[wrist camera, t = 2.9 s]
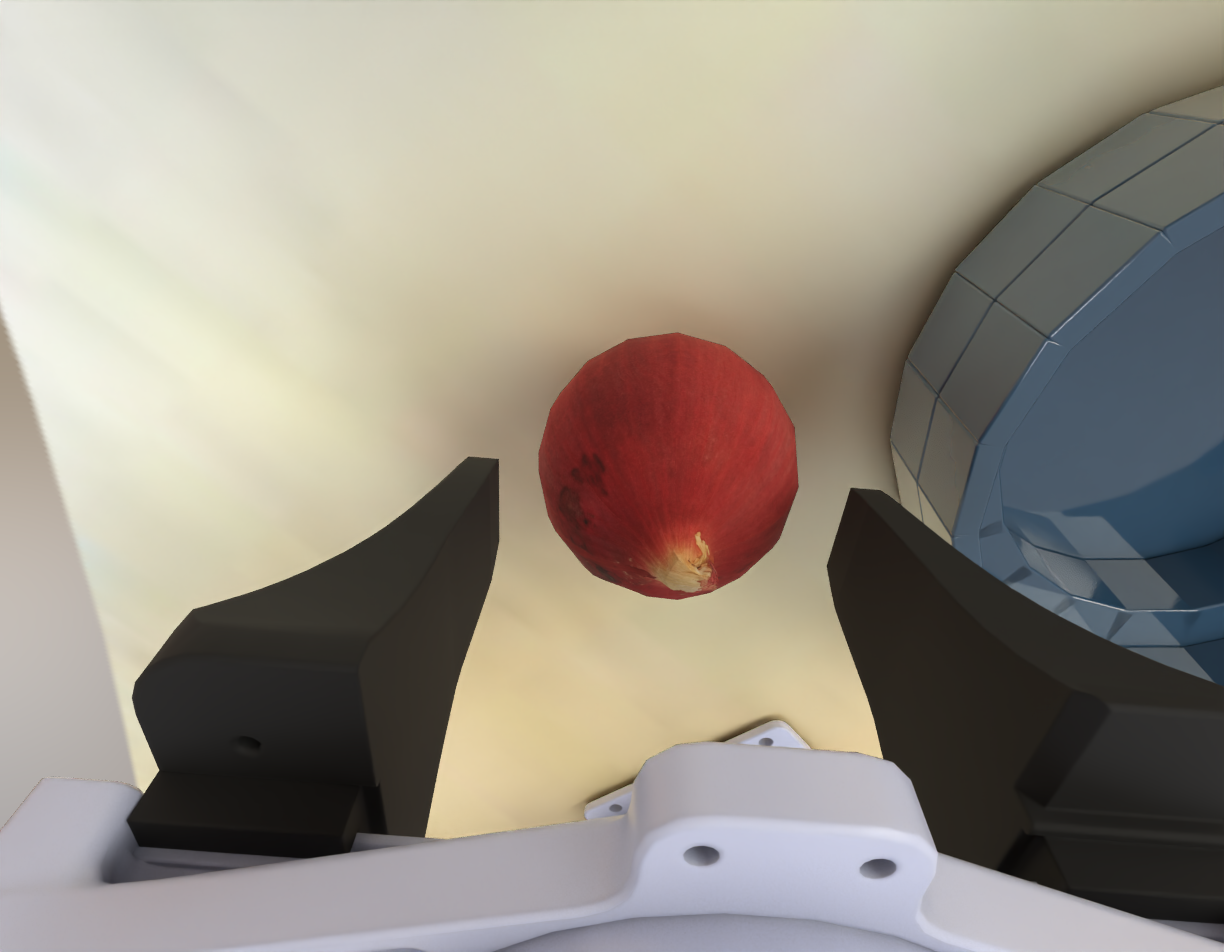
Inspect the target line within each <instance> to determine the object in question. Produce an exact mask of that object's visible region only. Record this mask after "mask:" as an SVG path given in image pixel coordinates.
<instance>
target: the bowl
mask: <svg viewBox="0 0 1224 952" xmlns="http://www.w3.org/2000/svg"><path fill="white" fill-rule="evenodd" d="M890 439H891V441H890V444H891V450H892V455H893V461H894V467H895V472H896V478H897V484H898V489H899V495H900V501H901V505H902V506H903V507H904V508H905V509H907V510H908V511H909V512H910V513H912V514H913V515H914V516H915V517H916V518H918V519H919V520H920V521H921V522H923V523H924V524H925V525H926V526H928V527H929V528H930V529H931V530H933V531H934V532H935V533H936V534H938V535H939V536H940V537H941V538H943V539H944V540H945V541H946V542H948V543H949V544H950V545H952V546H953V547H954V548H955V549H957V550H958V551H959V552H961V553H962V554H963V555H965V556H966V557H967V558H969V559H970V560H971V561H973V562H974V563H976V564H977V565H979V566H980V567H981V568H983V569H984V570H986V571H987V572H988V573H990V574H991V575H993V576H994V577H996V578H997V579H999V580H1000V581H1002V582H1003V583H1005V584H1006V585H1008V586H1009V587H1011V588H1012V589H1014V590H1016V591H1017V592H1019V593H1021V594H1022V595H1024V596H1026V597H1027V598H1029V599H1031V600H1032V601H1034V602H1036V603H1037V604H1039V605H1040V606H1042V607H1044V608H1046V609H1048V610H1049V611H1051V612H1053V613H1055V614H1057V615H1058V616H1060V617H1062V618H1064V619H1066V620H1068V621H1070V622H1072V623H1074V624H1076V625H1078V626H1080V627H1082V628H1084V629H1086V630H1088V631H1090V632H1092V633H1094V634H1096V635H1098V636H1100V637H1102V638H1104V639H1106V640H1108V641H1111V642H1113V643H1115V644H1117V645H1119V646H1121V647H1124V648H1126V649H1129V650H1131V651H1133V652H1136V653H1138V654H1140V655H1143V656H1145V657H1147V658H1150V659H1152V660H1154V661H1157V662H1159V663H1162V664H1164V665H1167V666H1169V667H1172V668H1175V669H1178V670H1180V671H1183V672H1186V673H1189V674H1192V675H1194V676H1197V677H1200V678H1203V679H1205V680H1208V681H1211V682H1214V683H1216V684H1219V685H1222V686H1224V85H1222V86H1220V87H1217V88H1214V89H1211V90H1208V91H1205V92H1202V93H1199V94H1197V95H1194V96H1191V97H1188V98H1185V99H1182V100H1179V101H1176V102H1173V103H1171V104H1168V105H1165V106H1162V107H1159V108H1156V109H1153V110H1151V111H1150V112H1148V113H1144V114H1142V115H1140V116H1139V117H1137V118H1136V119H1134V120H1133V121H1131V122H1130V123H1128V124H1127V125H1125V126H1123V127H1122V128H1120V129H1119V130H1117V131H1116V132H1114V133H1113V134H1111V135H1110V136H1108V137H1107V138H1105V139H1104V140H1102V141H1101V142H1099V143H1097V144H1096V145H1094V146H1093V147H1091V148H1090V149H1088V150H1087V151H1085V152H1084V153H1082V154H1081V155H1079V156H1078V157H1076V158H1075V159H1073V160H1072V161H1070V162H1068V163H1067V164H1065V165H1064V166H1062V167H1061V168H1059V169H1058V170H1056V171H1055V172H1053V173H1052V174H1050V175H1049V176H1047V177H1046V178H1044V179H1043V180H1041V181H1039V182H1038V183H1037V185H1034V186H1033V187H1032V188H1031V189H1030V190H1029V191H1028V192H1027V193H1026V194H1025V195H1024V197H1023V198H1022V199H1021V200H1020V201H1019V202H1018V203H1017V204H1016V205H1015V206H1014V207H1013V208H1012V209H1011V210H1010V211H1009V212H1008V213H1007V215H1006V216H1005V217H1004V218H1003V219H1002V220H1001V221H1000V222H999V223H998V224H997V225H996V226H995V227H994V228H993V229H992V230H991V231H990V233H989V234H988V235H987V236H986V237H985V238H984V239H983V240H982V241H981V242H980V243H979V244H978V245H977V246H976V247H975V248H974V250H973V251H972V252H971V253H970V254H969V255H968V256H967V257H966V258H965V259H964V260H963V261H962V262H961V263H960V264H959V265H958V266H957V268H956V269H955V272H954V273H953V274H952V276H951V278H950V280H949V281H948V283H947V285H946V287H945V289H944V291H943V292H942V294H941V296H940V298H939V300H938V302H937V303H936V305H935V307H934V309H933V311H932V312H931V314H930V316H929V318H928V320H927V322H926V323H925V325H924V327H923V329H922V331H921V332H920V334H919V336H918V338H917V340H916V342H915V343H914V345H913V347H912V349H911V351H910V353H909V354H908V359H907V360H906V361H905V365H904V370H903V375H902V380H901V385H900V390H899V395H898V400H897V405H896V410H895V415H894V420H893V425H892V430H891V435H890Z"/></svg>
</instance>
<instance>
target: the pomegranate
mask: <svg viewBox="0 0 1224 952" xmlns="http://www.w3.org/2000/svg"><path fill="white" fill-rule="evenodd" d="M539 475H540V480H541V484H542V489H543V494H544V499H545V503H546V508H547V513H548V517H549V519H550V521H551V523H552V525H553V527H554V529H555V531H556V532H557V533H558V535H559V536H560V537H561V538H562V540H563V541H564V542H565V543H566V545H567V546H568V547H569V548H570V550H571V551H572V552H573V553H574V555H575V556H576V557H577V558H578V560H579V561H580V562H581V563H582V564H583V566H584V567H585V568H586V569H587V570H589V571H590V572H591V573H592V574H593V575H594V576H597V577H599V578H601V579H603V580H605V581H608V582H611V583H614V584H616V585H619V586H622V587H625V588H627V589H630V590H633V591H635V592H638V593H640V594H642V595H645V596H649V597H658V598H666V599H675V600H679V599H684V598H688V597H693V596H697V595H702V594H707V593H710V592H712V591H714V590H716V589H718V588H720V587H722V586H724V585H726V584H728V583H730V582H732V581H734V580H736V579H738V578H740V577H741V576H742V575H743V574H745V573H746V572H747V571H748V570H749V569H750V568H751V567H752V566H753V565H754V564H756V563H757V562H758V561H759V560H760V559H761V558H762V557H763V556H764V555H765V554H766V553H767V552H769V551H770V550H771V549H772V548H773V547H774V545H775V544H776V543H777V541H778V540H779V539H780V536H781V533H782V531H783V528H784V525H785V523H786V520H787V517H788V514H789V512H790V509H791V506H792V504H793V501H794V498H795V495H796V493H797V490H798V487H799V486H798V471H797V457H796V442H795V427H794V425H793V424H792V422H791V420H790V418H789V416H788V414H787V413H786V411H785V409H784V407H783V405H782V404H781V402H780V400H779V398H778V396H777V394H776V393H775V391H774V389H773V387H772V386H771V384H770V383H769V382H768V381H767V379H766V378H765V377H764V375H762V374H761V373H760V372H759V371H757V370H756V369H755V368H753V367H752V366H751V365H749V364H748V363H747V362H746V361H744V360H743V359H742V358H740V357H739V356H738V355H737V354H735V353H734V352H733V351H731V350H730V349H729V348H727V347H726V346H723V345H719V344H716V343H712V342H709V341H705V340H702V339H698V338H695V337H691V336H688V335H684V334H681V333H670V334H663V335H656V336H648V337H641V338H634V339H628V340H626V341H624V342H622V343H620V344H618V345H616V346H615V347H613V348H611V349H609V350H607V351H605V352H604V353H602V354H600V355H598V356H596V357H594V358H592V359H591V360H589V361H587V363H586V364H585V365H584V366H583V367H582V368H581V370H580V371H579V372H578V373H577V374H576V375H575V377H574V378H573V379H572V380H571V381H570V382H569V384H568V385H567V386H566V387H565V388H564V389H563V391H562V392H561V393H560V394H559V396H558V398H557V399H556V401H555V403H554V404H553V406H552V407H551V409H550V413H549V417H548V420H547V424H546V427H545V431H544V435H543V438H542V442H541V445H540V449H539Z"/></svg>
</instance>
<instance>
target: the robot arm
mask: <svg viewBox="0 0 1224 952" xmlns="http://www.w3.org/2000/svg"><path fill="white" fill-rule="evenodd" d="M498 544H499V459H491V458H479V457H468V458H467V459H465V460H464V461H463V462H462V463H461V464H459V465H458V466H457V467H456V468H455V469H454V470H453V471H452V472H451V473H450V474H449V475H448V476H447V477H445V478H444V479H443V480H442V481H441V482H440V483H439V484H438V485H437V486H436V487H434V488H433V489H432V490H431V491H430V492H429V493H427V494H426V495H425V496H424V497H423V498H422V499H420V500H419V501H418V502H417V503H416V504H415V505H413V506H412V507H411V508H410V509H408V510H407V511H406V512H405V513H403V514H402V515H401V516H399V517H398V518H397V519H395V520H394V521H393V522H391V523H390V524H389V525H387V526H386V527H384V528H383V529H381V530H380V531H378V532H377V533H375V534H374V535H372V536H371V537H369V538H367V539H366V540H364V541H362V542H361V543H359V544H357V545H356V546H354V547H352V548H351V549H349V550H347V551H345V552H343V553H341V554H339V555H337V556H335V557H333V558H331V559H329V560H327V561H325V562H323V563H321V564H319V565H317V566H315V567H313V568H311V569H309V570H307V571H305V572H302V573H300V574H298V575H295V576H293V577H290V578H288V579H286V580H283V581H281V582H278V583H275V584H273V585H270V586H267V587H265V588H262V589H259V590H256V591H253V592H250V593H247V594H244V595H241V596H238V597H234V598H231V599H227V600H224V601H221V602H217V603H214V604H211V605H207V606H204V607H200V608H196V609H193V610H192V611H191V612H190V613H189V614H188V615H187V617H186V618H185V619H184V620H183V621H182V622H181V623H180V625H179V626H178V627H177V628H176V629H175V630H174V632H173V633H172V634H171V636H170V637H169V638H168V640H167V641H166V642H165V644H164V645H163V646H162V648H161V649H160V650H159V652H158V653H157V654H156V656H155V657H154V658H153V660H152V661H151V662H150V663H149V665H148V666H147V667H146V669H145V670H144V671H143V673H142V674H141V675H140V677H139V678H138V679H137V681H136V682H135V686H134V690H133V695H132V700H133V704H134V709H135V713H136V716H137V718H138V721H139V723H140V725H141V728H142V730H143V733H144V735H145V737H146V740H147V742H148V744H149V747H150V749H151V752H152V754H153V756H154V759H155V761H156V763H157V766H158V768H159V772H158V773H157V775H156V776H155V778H154V779H153V781H152V783H151V784H150V786H149V787H148V789H147V790H146V792H145V793H143V792H142V791H141V790H140V789H138V788H136V787H134V786H132V785H130V784H127V783H123V782H118V781H107V780H92V779H79V778H65V777H47V778H43V779H41V780H40V782H39V783H38V784H37V785H36V787H35V788H34V789H33V790H32V791H31V793H30V794H29V795H28V797H27V798H26V799H25V800H24V801H23V803H22V804H21V805H20V807H19V808H18V809H17V810H16V811H15V813H14V814H13V815H12V816H11V818H10V819H9V820H8V821H7V823H6V824H5V825H4V827H3V828H2V829H1V830H0V952H1224V686H1222V685H1219V684H1216V683H1214V682H1211V681H1208V680H1205V679H1203V678H1200V677H1197V676H1194V675H1192V674H1189V673H1186V672H1183V671H1180V670H1178V669H1175V668H1172V667H1169V666H1167V665H1164V664H1162V663H1159V662H1157V661H1154V660H1152V659H1150V658H1147V657H1145V656H1143V655H1140V654H1138V653H1136V652H1133V651H1131V650H1129V649H1126V648H1124V647H1121V646H1119V645H1117V644H1115V643H1113V642H1111V641H1108V640H1106V639H1104V638H1102V637H1100V636H1098V635H1096V634H1094V633H1092V632H1090V631H1088V630H1086V629H1084V628H1082V627H1080V626H1078V625H1076V624H1074V623H1072V622H1070V621H1068V620H1066V619H1064V618H1062V617H1060V616H1058V615H1057V614H1055V613H1053V612H1051V611H1049V610H1048V609H1046V608H1044V607H1042V606H1040V605H1039V604H1037V603H1036V602H1034V601H1032V600H1031V599H1029V598H1027V597H1026V596H1024V595H1022V594H1021V593H1019V592H1017V591H1016V590H1014V589H1012V588H1011V587H1009V586H1008V585H1006V584H1005V583H1003V582H1002V581H1000V580H999V579H997V578H996V577H994V576H993V575H991V574H990V573H988V572H987V571H986V570H984V569H983V568H981V567H980V566H979V565H977V564H976V563H974V562H973V561H971V560H970V559H969V558H967V557H966V556H965V555H963V554H962V553H961V552H959V551H958V550H957V549H955V548H954V547H953V546H952V545H950V544H949V543H948V542H946V541H945V540H944V539H943V538H941V537H940V536H939V535H938V534H936V533H935V532H934V531H933V530H931V529H930V528H929V527H928V526H926V525H925V524H924V523H923V522H921V521H920V520H919V519H918V518H916V517H915V516H914V515H913V514H912V513H910V512H909V511H908V510H907V509H905V508H904V507H903V506H902V505H900V504H899V503H898V502H896V501H895V500H894V499H892V498H891V497H890V496H888V495H887V494H885V493H884V492H882V491H881V490H871V489H858V488H851V489H850V492H849V496H848V499H847V502H846V505H845V509H844V512H843V515H842V518H841V522H840V525H839V528H838V531H837V535H836V538H835V541H834V544H833V547H832V551H831V554H830V557H829V560H828V564H827V570H828V576H829V581H830V587H831V592H832V597H833V601H834V606H835V610H836V613H837V616H838V619H839V621H840V624H841V627H842V630H843V633H844V635H845V638H846V641H847V644H848V647H849V649H850V652H851V655H852V657H853V660H854V663H855V666H856V668H857V671H858V674H859V677H860V679H861V682H862V685H863V688H864V690H865V693H866V696H867V698H868V702H869V705H870V708H871V711H872V715H873V718H874V721H875V726H876V730H877V734H878V738H879V742H880V747H881V751H882V755H883V759H880V758H877V757H873V756H869V755H865V754H862V753H858V752H844V751H831V750H818V749H811V748H810V747H809V746H808V745H807V744H806V743H805V741H804V740H803V739H802V738H801V737H800V736H799V735H798V734H797V733H796V732H795V731H794V730H793V729H792V728H791V727H790V726H789V725H788V724H787V723H786V722H784V721H780V720H773V721H770V722H767V723H765V724H763V725H761V726H759V727H756V728H754V729H752V730H750V731H747V732H745V733H743V734H741V735H739V736H736V737H734V738H732V739H730V740H727V741H725V742H711V741H707V742H696V743H685V744H676V745H674V746H672V747H670V748H668V749H666V750H665V751H663V752H661V753H659V754H657V755H655V756H653V757H651V758H649V759H648V760H646V762H645V763H644V765H643V767H642V768H641V770H640V772H639V773H638V775H637V777H636V778H635V780H634V783H632V784H630V785H627V786H625V787H623V788H621V789H619V790H616V791H614V792H612V793H610V794H607V795H605V796H603V797H601V798H599V799H596V800H594V801H592V802H590V803H588V804H587V805H586V806H585V810H584V816H585V818H586V819H587V820H583V821H576V822H569V823H561V824H554V825H547V826H540V827H532V828H525V829H518V830H511V831H504V832H496V833H489V834H482V835H475V836H467V837H460V838H453V839H436V838H425V834H426V828H427V823H428V818H429V813H430V808H431V803H432V798H433V793H434V788H435V782H436V777H437V773H438V768H439V763H440V758H441V754H442V749H443V744H444V739H445V735H446V730H447V725H448V721H449V716H450V712H451V707H452V703H453V699H454V694H455V690H456V686H457V682H458V679H459V675H460V672H461V668H462V665H463V662H464V660H465V657H466V654H467V651H468V648H469V645H470V642H471V639H472V636H473V633H474V630H475V628H476V625H477V622H478V619H479V616H480V613H481V610H482V607H483V604H484V601H485V598H486V595H487V592H488V589H489V586H490V583H491V580H492V575H493V570H494V565H495V560H496V555H497V550H498Z"/></svg>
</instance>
